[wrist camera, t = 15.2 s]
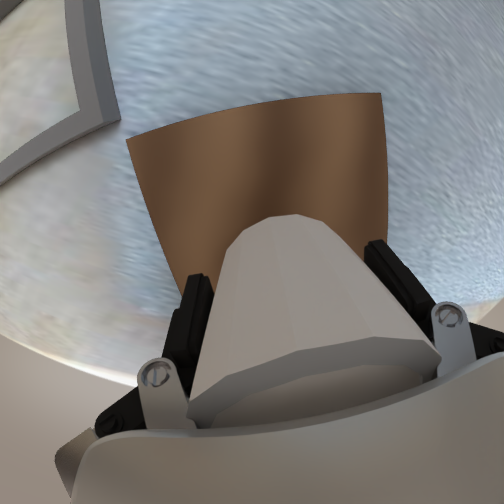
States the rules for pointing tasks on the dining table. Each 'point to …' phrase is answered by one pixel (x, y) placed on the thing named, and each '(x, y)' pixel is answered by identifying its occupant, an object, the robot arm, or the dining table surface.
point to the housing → (86, 84)
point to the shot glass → (301, 331)
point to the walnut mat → (264, 175)
